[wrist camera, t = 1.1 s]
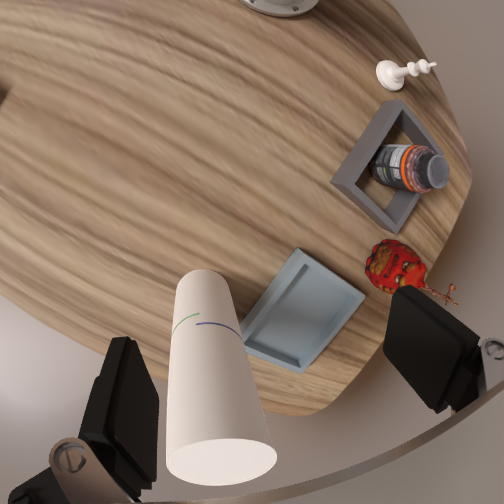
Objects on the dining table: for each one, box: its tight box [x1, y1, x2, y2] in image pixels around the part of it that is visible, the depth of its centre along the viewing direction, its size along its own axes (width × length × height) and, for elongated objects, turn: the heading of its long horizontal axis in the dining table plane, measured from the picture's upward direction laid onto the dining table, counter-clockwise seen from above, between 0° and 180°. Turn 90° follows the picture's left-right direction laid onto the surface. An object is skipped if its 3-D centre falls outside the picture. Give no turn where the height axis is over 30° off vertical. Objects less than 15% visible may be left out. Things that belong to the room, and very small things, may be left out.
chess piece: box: [376, 59, 437, 91], centre depth 27 cm, size 5×5×10 cm
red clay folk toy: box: [365, 239, 458, 306], centre depth 34 cm, size 8×7×15 cm
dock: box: [330, 99, 444, 234], centre depth 34 cm, size 15×11×4 cm
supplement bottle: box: [370, 144, 449, 193], centre depth 31 cm, size 6×6×11 cm
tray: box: [239, 247, 366, 374], centre depth 40 cm, size 16×13×2 cm
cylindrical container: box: [166, 269, 277, 486], centre depth 26 cm, size 7×7×25 cm
